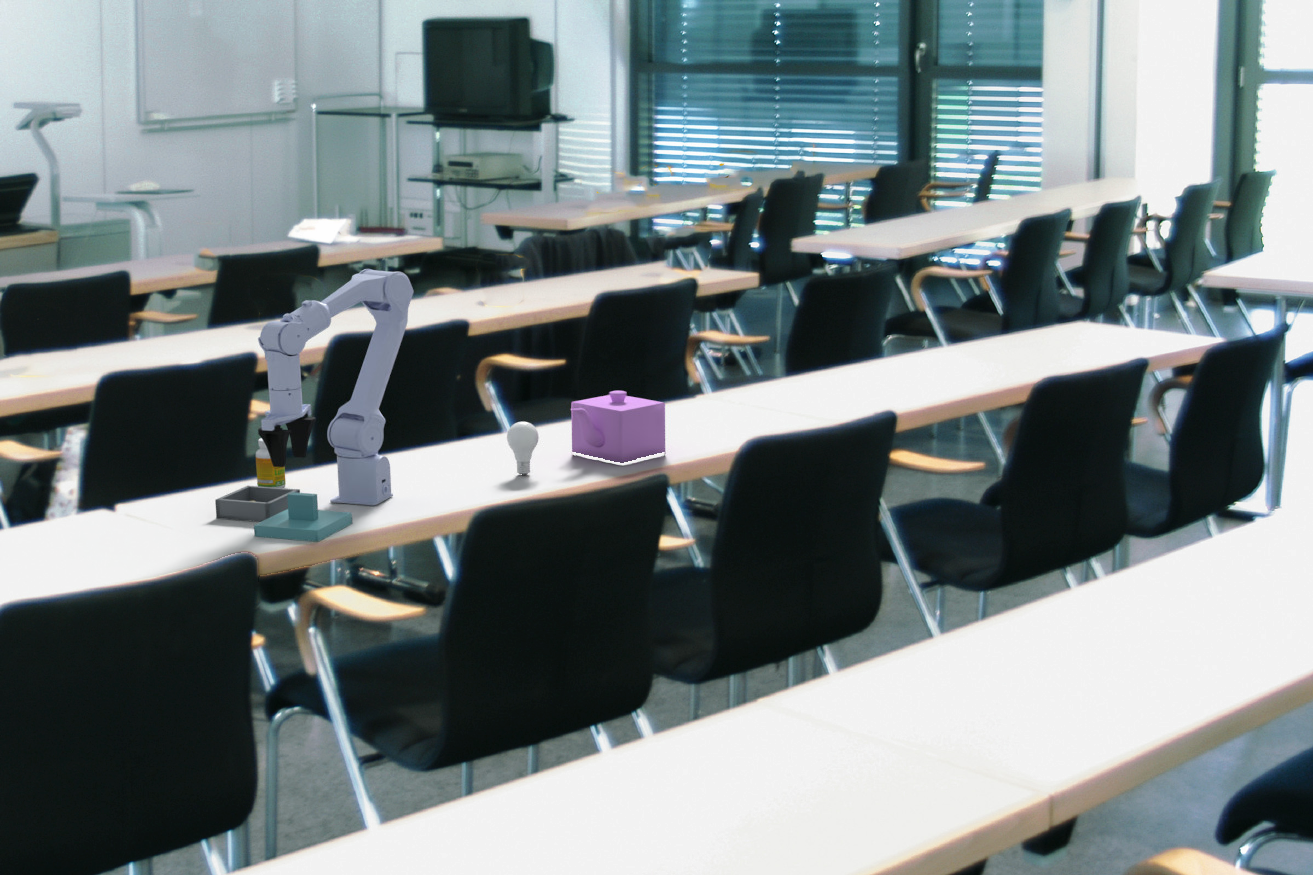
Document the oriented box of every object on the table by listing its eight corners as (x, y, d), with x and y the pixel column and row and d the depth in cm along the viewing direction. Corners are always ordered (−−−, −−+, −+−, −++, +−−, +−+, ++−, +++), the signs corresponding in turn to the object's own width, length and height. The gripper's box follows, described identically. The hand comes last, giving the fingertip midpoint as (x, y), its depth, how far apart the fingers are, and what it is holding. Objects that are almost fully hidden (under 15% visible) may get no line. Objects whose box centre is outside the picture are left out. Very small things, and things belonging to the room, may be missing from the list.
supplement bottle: (278, 491, 304) (275, 442, 302) (252, 490, 305) (249, 441, 303) (290, 484, 309) (287, 436, 307) (264, 483, 311) (262, 435, 308)
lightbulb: (502, 477, 315) (500, 423, 312) (516, 470, 320) (515, 417, 318) (530, 479, 312) (529, 426, 310) (544, 472, 318) (543, 419, 316)
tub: (300, 507, 292) (299, 489, 291) (269, 522, 282) (268, 503, 281) (248, 503, 295) (247, 485, 294) (216, 518, 285) (215, 499, 284)
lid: (352, 523, 281) (350, 488, 279) (318, 541, 269) (316, 505, 268) (290, 518, 284) (289, 483, 283) (254, 536, 273) (252, 500, 271)
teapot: (547, 461, 329) (545, 395, 326) (631, 442, 346) (630, 380, 343) (597, 472, 318) (596, 405, 315) (681, 452, 336) (680, 388, 333)
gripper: (285, 379, 288) (289, 451, 291) (244, 394, 275) (249, 469, 278) (319, 381, 286) (323, 453, 289) (280, 396, 273) (284, 471, 276)
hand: (289, 461), depth 283 cm, fingers open, 7 cm apart
